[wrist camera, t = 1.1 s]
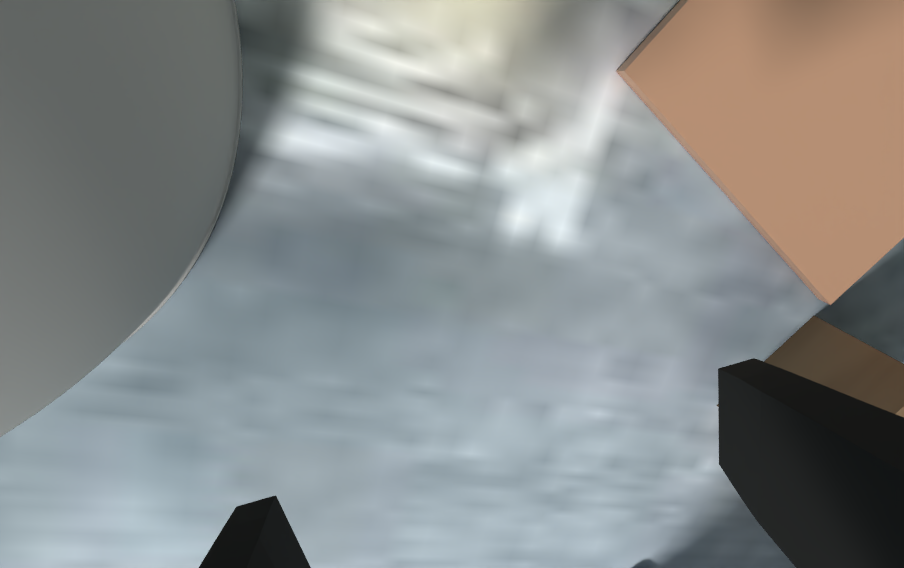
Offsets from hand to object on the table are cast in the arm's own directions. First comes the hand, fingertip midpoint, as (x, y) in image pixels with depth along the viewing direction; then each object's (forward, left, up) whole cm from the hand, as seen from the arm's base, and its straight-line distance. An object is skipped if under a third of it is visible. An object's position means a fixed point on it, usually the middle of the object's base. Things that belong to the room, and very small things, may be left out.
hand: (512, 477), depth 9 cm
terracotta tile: (-6, -14, -11) cm, 19 cm away
